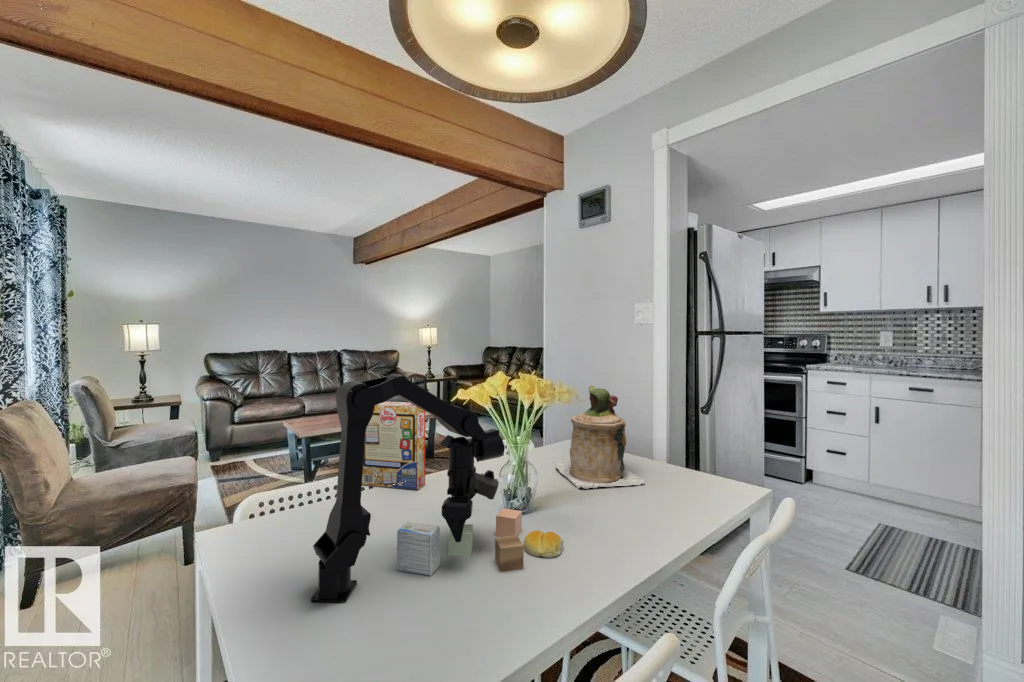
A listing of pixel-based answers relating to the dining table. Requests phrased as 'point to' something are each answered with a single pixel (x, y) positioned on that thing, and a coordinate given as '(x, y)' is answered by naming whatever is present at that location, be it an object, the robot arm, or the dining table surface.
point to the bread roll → (543, 544)
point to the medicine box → (418, 548)
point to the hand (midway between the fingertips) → (460, 532)
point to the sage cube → (466, 542)
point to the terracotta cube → (508, 523)
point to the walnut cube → (509, 553)
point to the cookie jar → (598, 445)
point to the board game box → (395, 447)
